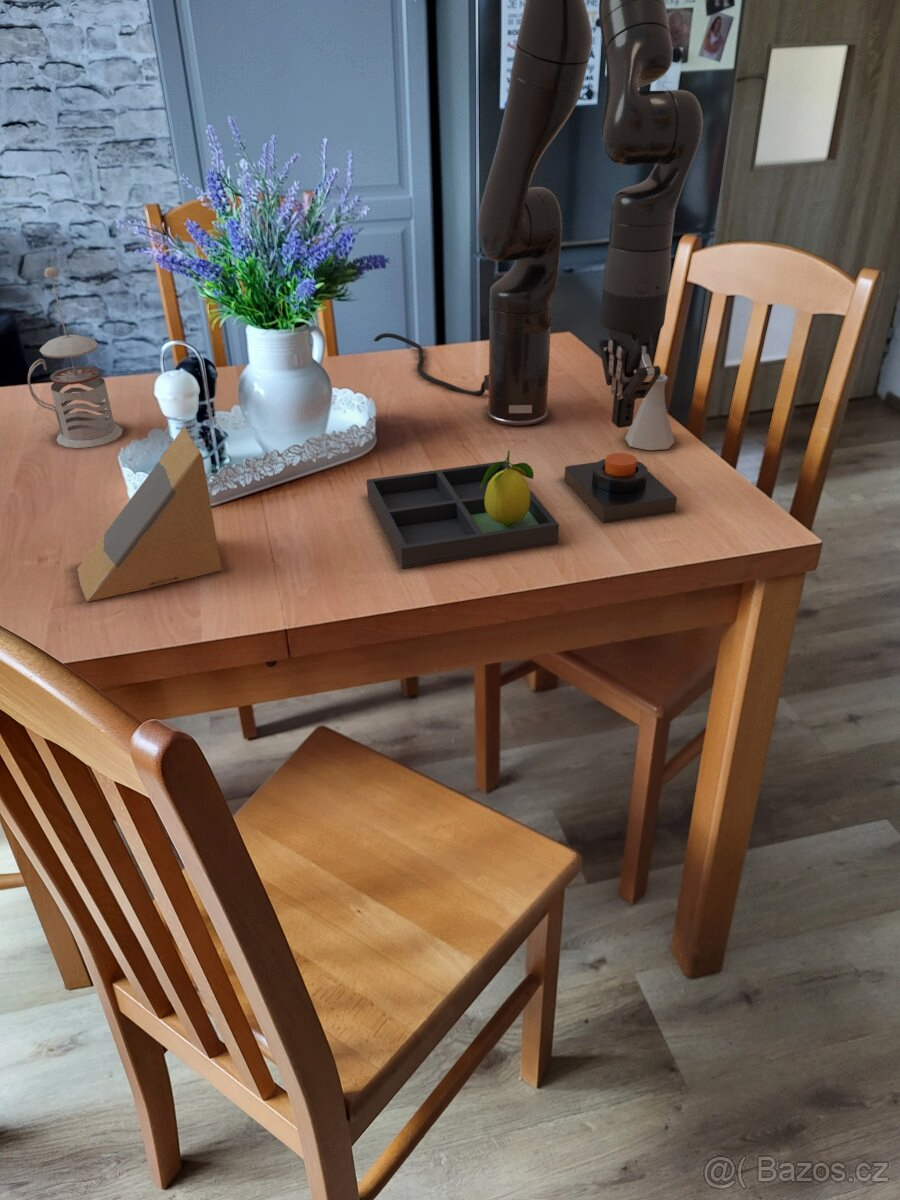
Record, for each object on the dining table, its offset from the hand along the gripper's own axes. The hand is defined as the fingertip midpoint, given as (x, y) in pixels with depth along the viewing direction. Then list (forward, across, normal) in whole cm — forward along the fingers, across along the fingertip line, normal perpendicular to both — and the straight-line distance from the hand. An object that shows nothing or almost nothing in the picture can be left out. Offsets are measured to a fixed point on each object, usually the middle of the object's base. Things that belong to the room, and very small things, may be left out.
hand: (621, 424), depth 118 cm
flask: (+10, +15, -12) cm, 22 cm away
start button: (+6, 0, 0) cm, 6 cm away
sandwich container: (+10, -2, +60) cm, 61 cm away
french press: (+11, +43, +69) cm, 82 cm away
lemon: (+10, -5, +17) cm, 20 cm away
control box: (+10, 0, 0) cm, 10 cm away
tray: (+10, 0, +22) cm, 24 cm away
